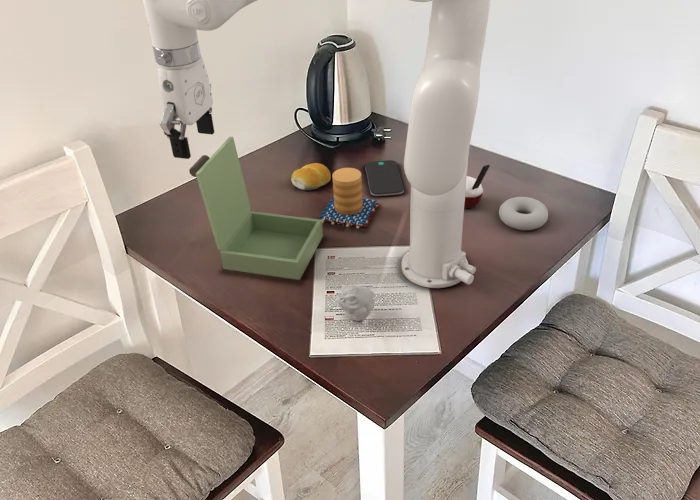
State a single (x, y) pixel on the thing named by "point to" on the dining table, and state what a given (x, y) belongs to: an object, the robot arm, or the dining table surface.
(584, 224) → the dining table surface
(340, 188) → the cookies
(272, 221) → the box
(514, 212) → the donut
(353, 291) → the frog figurine
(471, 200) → the cocoa
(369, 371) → the dining table surface
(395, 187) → the smartphone
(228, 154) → the box lid
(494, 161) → the dining table surface
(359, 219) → the woven mat
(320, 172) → the bread roll
